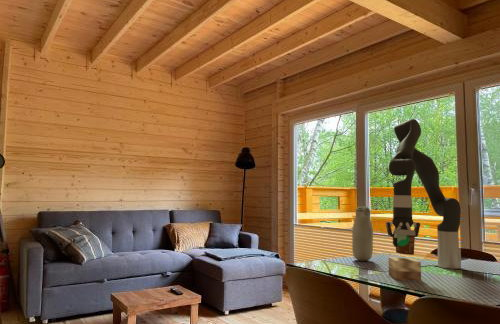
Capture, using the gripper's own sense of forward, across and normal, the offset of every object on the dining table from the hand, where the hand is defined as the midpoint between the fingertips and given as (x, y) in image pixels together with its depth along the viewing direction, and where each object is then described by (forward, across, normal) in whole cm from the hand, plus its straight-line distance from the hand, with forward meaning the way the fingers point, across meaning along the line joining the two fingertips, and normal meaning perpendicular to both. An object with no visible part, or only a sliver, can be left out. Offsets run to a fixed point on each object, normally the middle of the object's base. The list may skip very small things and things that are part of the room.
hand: (402, 246), depth 167 cm
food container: (+3, +1, 0) cm, 3 cm away
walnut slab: (+13, 0, 0) cm, 13 cm away
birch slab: (+9, 0, 0) cm, 9 cm away
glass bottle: (+13, +8, -40) cm, 43 cm away
